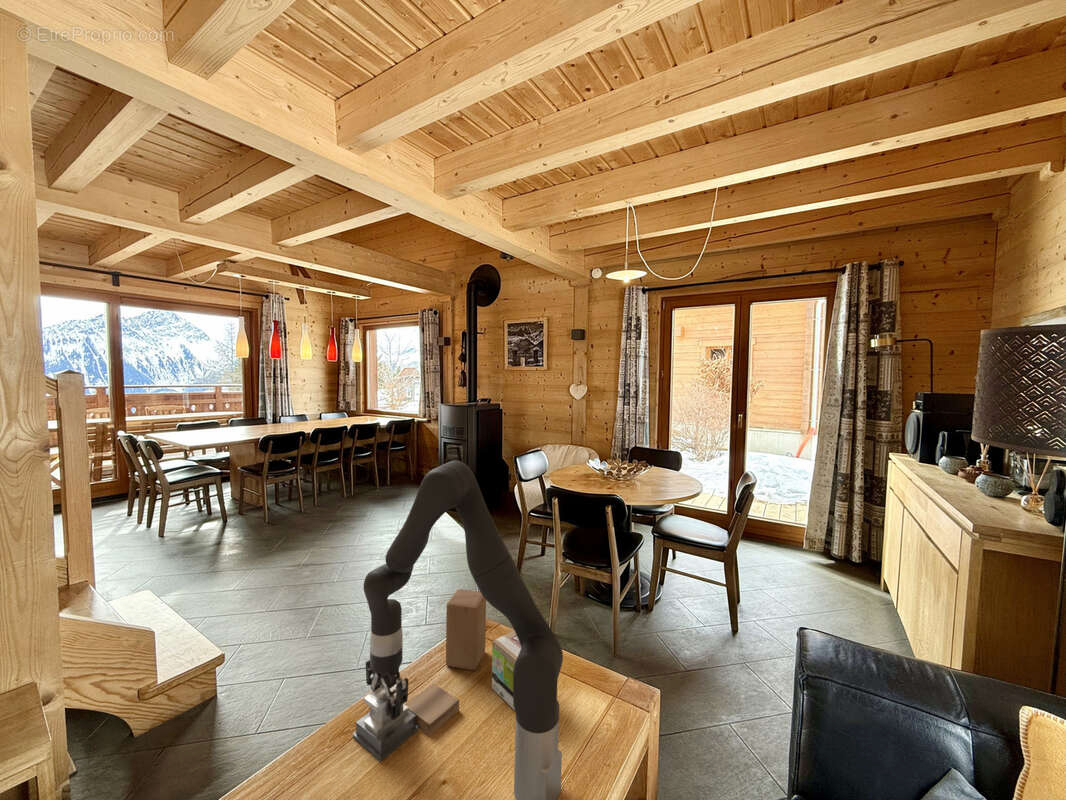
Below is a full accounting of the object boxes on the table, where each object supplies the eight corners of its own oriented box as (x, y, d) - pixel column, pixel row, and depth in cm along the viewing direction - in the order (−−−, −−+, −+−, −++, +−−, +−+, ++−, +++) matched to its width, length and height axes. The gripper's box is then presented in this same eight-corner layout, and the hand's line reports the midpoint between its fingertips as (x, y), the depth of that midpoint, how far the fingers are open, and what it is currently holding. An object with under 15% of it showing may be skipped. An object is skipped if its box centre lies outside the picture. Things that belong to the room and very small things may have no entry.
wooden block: (475, 672, 128) (476, 607, 127) (444, 667, 130) (445, 603, 129) (486, 651, 138) (487, 591, 137) (456, 646, 140) (457, 587, 139)
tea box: (490, 689, 122) (491, 639, 121) (517, 673, 128) (518, 626, 127) (524, 722, 110) (525, 667, 110) (552, 703, 117) (554, 651, 116)
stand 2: (458, 710, 114) (459, 699, 114) (429, 736, 106) (429, 724, 105) (433, 693, 120) (433, 683, 119) (403, 716, 111) (403, 705, 111)
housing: (376, 736, 101) (376, 707, 100) (364, 725, 103) (364, 697, 103) (408, 711, 108) (408, 685, 107) (395, 702, 111) (395, 676, 110)
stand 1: (418, 730, 107) (418, 715, 107) (380, 762, 98) (380, 745, 98) (391, 709, 114) (391, 695, 113) (353, 737, 105) (352, 722, 104)
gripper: (355, 641, 106) (355, 706, 107) (391, 665, 97) (391, 735, 98) (381, 627, 112) (381, 688, 113) (418, 649, 103) (417, 714, 104)
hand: (386, 710), depth 106 cm, fingers open, 6 cm apart
